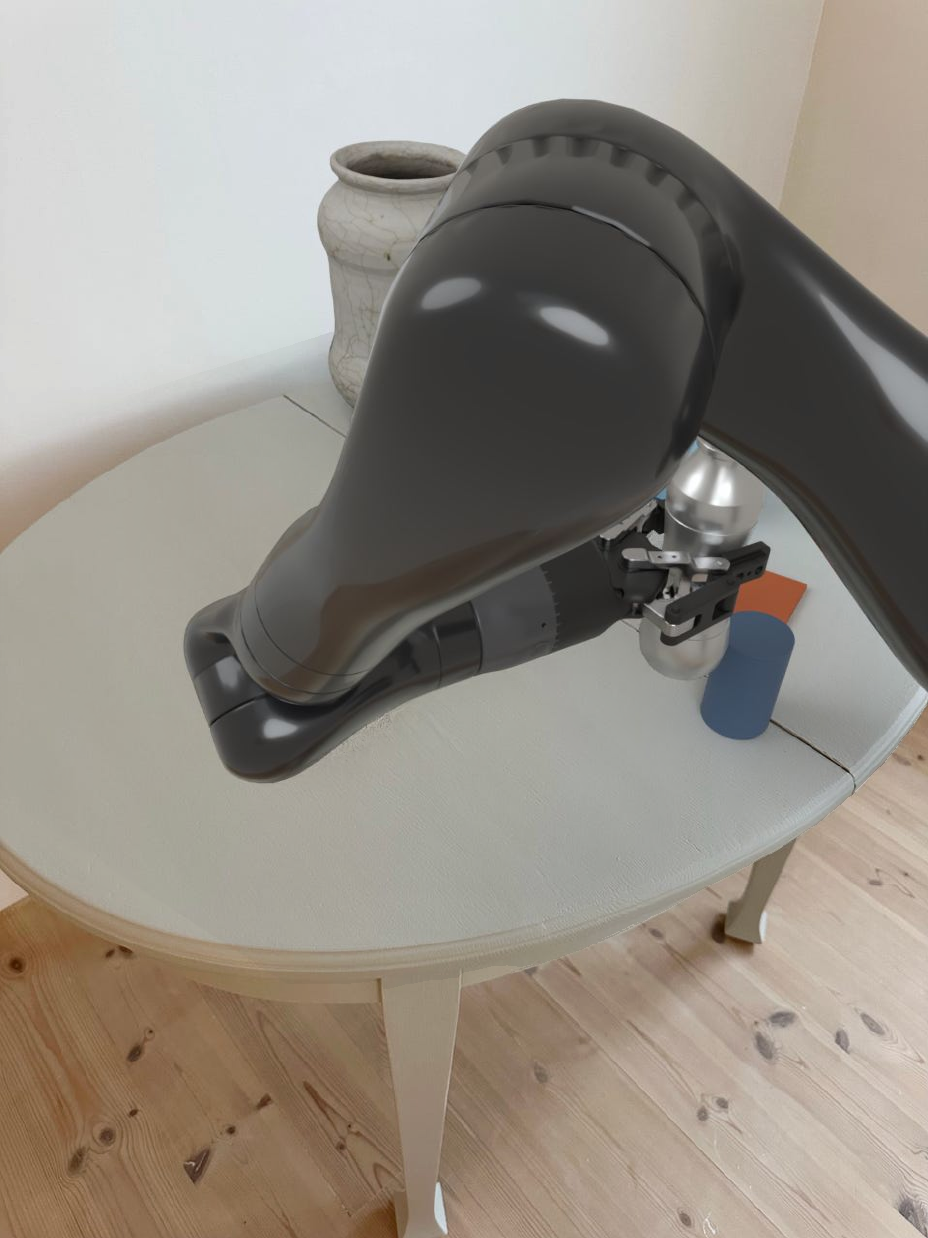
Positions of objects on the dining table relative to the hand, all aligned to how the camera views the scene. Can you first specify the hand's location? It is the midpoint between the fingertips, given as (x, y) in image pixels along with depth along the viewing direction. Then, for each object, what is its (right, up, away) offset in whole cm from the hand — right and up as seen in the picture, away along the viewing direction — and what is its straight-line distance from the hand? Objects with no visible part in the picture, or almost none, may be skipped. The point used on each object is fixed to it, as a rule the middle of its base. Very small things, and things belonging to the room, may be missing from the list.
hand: (730, 529), depth 65 cm
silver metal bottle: (-2, -9, +6) cm, 11 cm away
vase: (-25, +18, +52) cm, 60 cm away
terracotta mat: (+6, -4, +26) cm, 27 cm away
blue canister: (+4, -14, +14) cm, 21 cm away
